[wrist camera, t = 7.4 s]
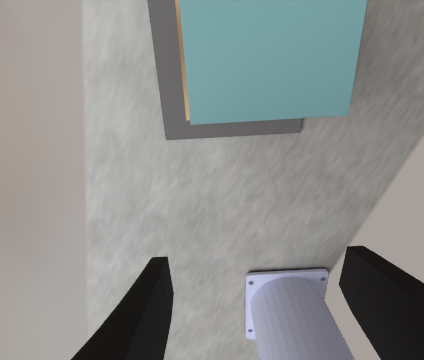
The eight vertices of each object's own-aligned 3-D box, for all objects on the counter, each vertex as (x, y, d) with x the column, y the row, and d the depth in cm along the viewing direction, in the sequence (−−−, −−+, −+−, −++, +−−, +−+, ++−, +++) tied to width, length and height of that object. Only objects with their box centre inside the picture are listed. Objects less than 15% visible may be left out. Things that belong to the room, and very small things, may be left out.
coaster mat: (298, 131, 18) (300, 132, 17) (166, 138, 18) (166, 140, 18) (314, -38, 14) (317, -42, 14) (145, -28, 14) (143, -31, 14)
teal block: (294, 101, 11) (348, 115, 7) (197, 107, 11) (190, 124, 7) (304, -22, 9) (384, -105, 5) (187, -14, 9) (170, -90, 5)
